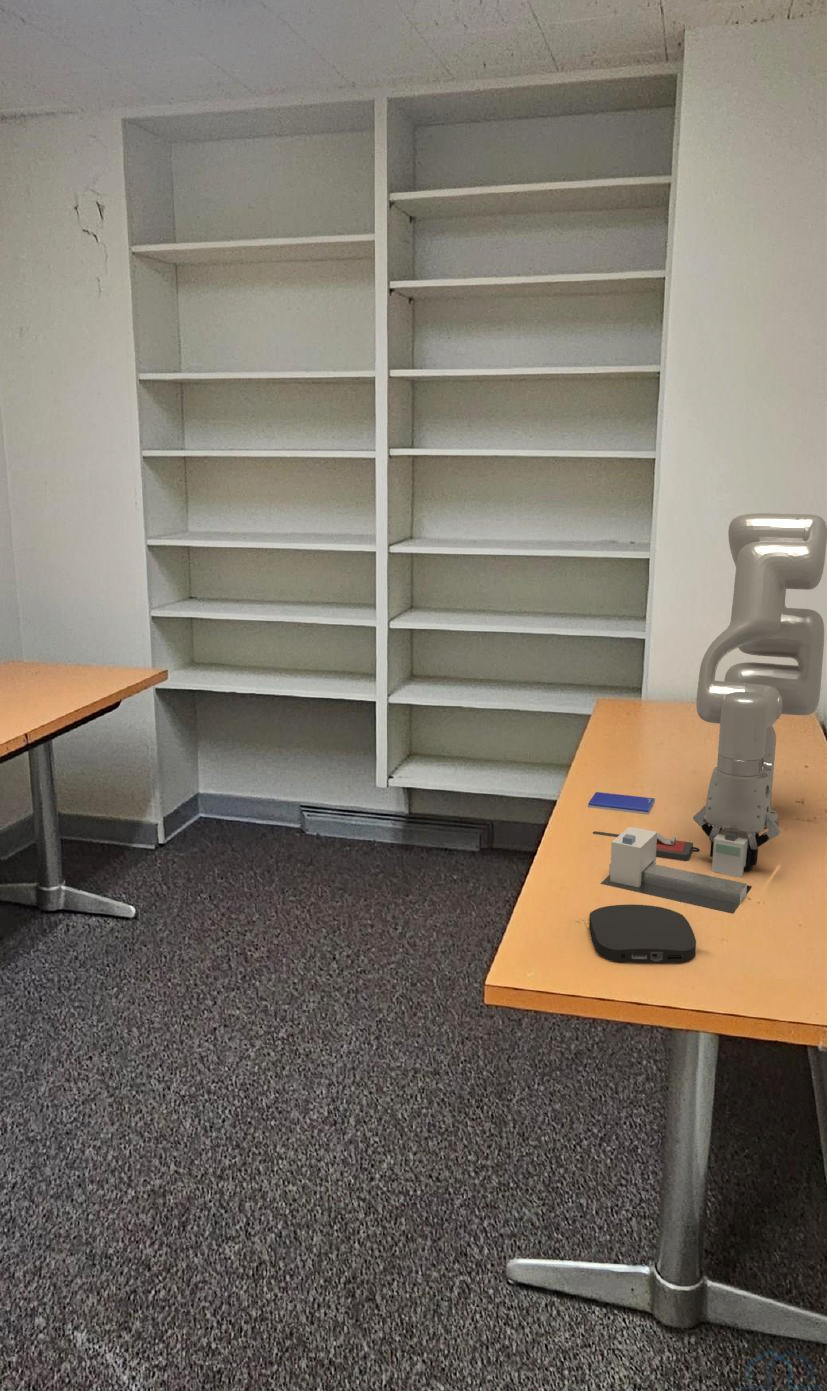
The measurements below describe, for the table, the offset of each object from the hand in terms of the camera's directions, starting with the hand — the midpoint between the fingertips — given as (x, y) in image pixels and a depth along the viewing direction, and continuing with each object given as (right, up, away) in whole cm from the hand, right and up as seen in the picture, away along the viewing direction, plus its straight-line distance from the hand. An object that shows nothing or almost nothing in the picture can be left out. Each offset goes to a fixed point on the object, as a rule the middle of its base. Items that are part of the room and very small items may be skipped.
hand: (733, 863), depth 176 cm
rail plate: (-12, -3, -7) cm, 14 cm away
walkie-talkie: (-14, 0, +10) cm, 17 cm away
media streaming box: (-22, -8, -24) cm, 33 cm away
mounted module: (-18, -1, -4) cm, 19 cm away
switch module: (0, -1, 0) cm, 1 cm away
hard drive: (-12, +6, +35) cm, 37 cm away
